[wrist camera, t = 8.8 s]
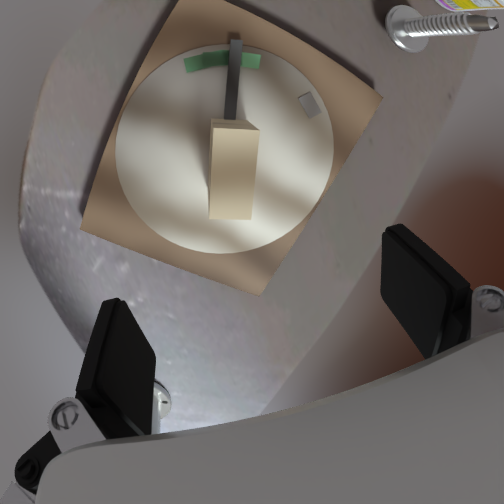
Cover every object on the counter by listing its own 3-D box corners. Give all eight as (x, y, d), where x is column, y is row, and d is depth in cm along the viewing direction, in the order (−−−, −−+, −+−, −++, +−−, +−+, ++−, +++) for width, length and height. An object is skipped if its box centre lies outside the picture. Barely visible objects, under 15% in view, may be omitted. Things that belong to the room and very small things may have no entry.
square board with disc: (256, 288, 34) (259, 297, 32) (84, 222, 27) (79, 230, 26) (375, 96, 25) (384, 97, 24) (189, -9, 18) (188, -15, 17)
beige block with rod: (241, 190, 26) (251, 219, 21) (207, 189, 26) (209, 219, 21) (254, 42, 20) (269, 29, 15) (217, 39, 20) (222, 25, 15)
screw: (368, 34, 22) (385, -1, 20) (406, 62, 23) (422, 27, 22) (467, 21, 11) (482, -24, 9) (508, 71, 12) (521, 25, 10)
